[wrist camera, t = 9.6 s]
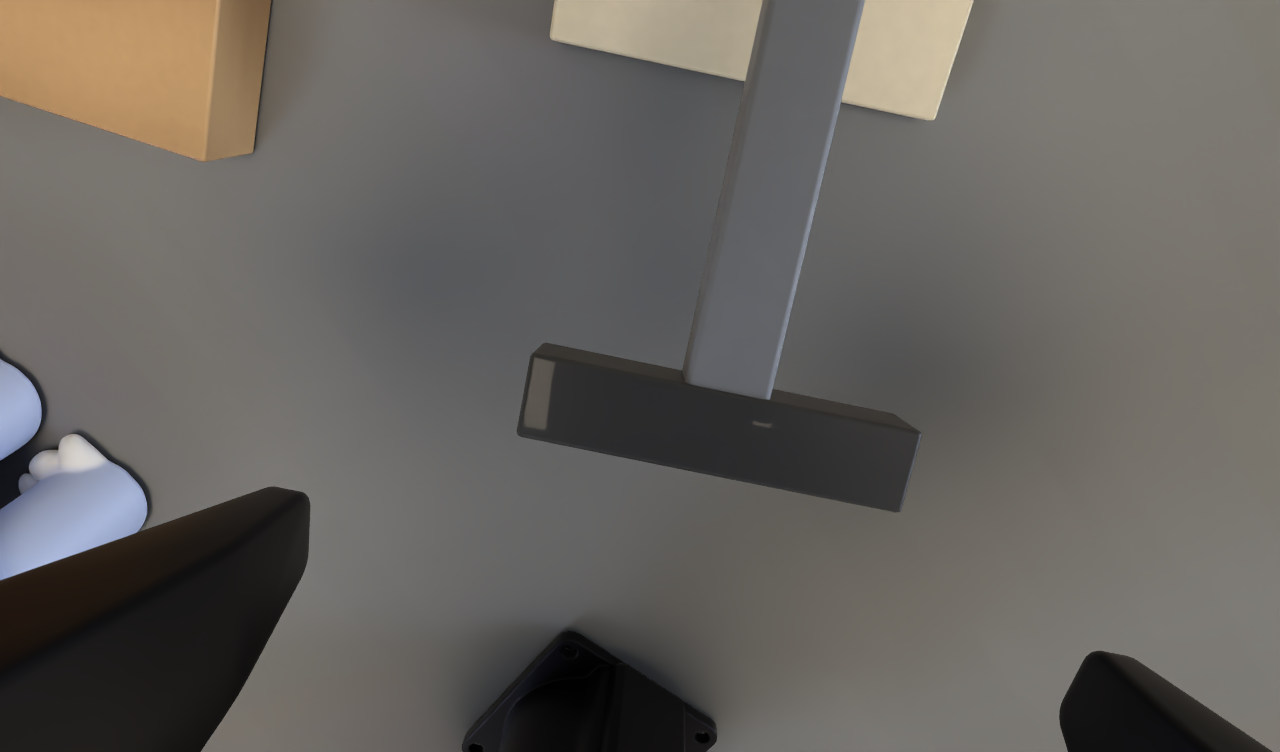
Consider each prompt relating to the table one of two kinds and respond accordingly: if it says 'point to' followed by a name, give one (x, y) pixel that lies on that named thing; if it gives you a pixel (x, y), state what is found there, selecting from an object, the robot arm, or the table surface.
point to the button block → (142, 68)
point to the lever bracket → (725, 30)
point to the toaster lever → (744, 308)
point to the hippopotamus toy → (58, 489)
